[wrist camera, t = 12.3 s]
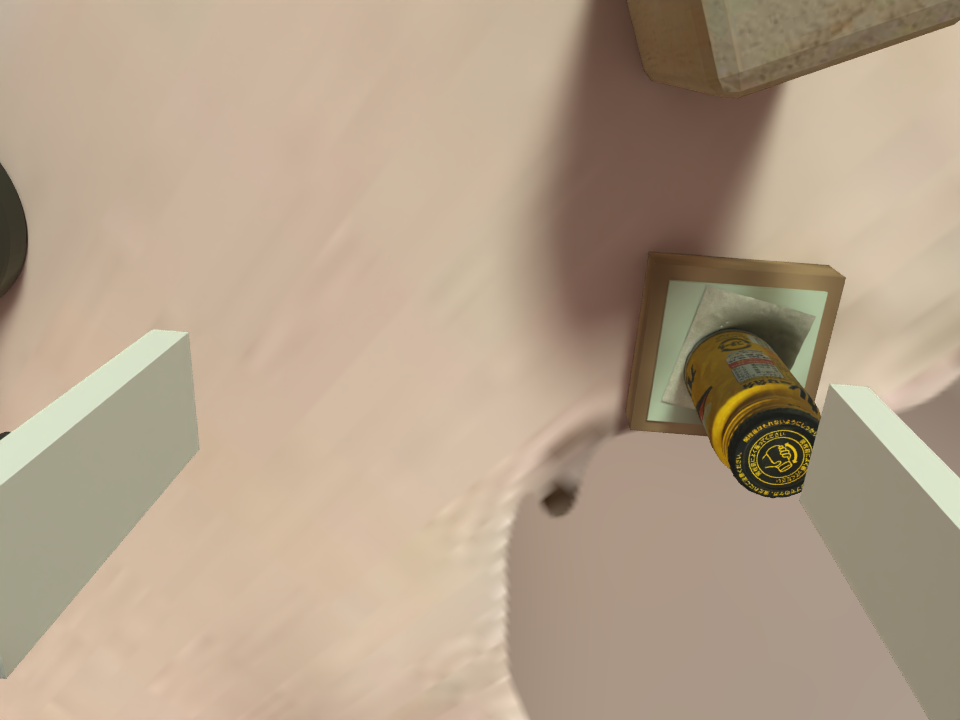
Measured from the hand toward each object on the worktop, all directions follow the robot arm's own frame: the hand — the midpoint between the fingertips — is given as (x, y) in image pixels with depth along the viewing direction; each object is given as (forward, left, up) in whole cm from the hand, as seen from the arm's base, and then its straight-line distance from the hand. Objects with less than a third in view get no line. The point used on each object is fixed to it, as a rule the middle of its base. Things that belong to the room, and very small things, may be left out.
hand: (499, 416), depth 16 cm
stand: (+15, -11, -37) cm, 41 cm away
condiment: (+15, -11, -34) cm, 38 cm away
